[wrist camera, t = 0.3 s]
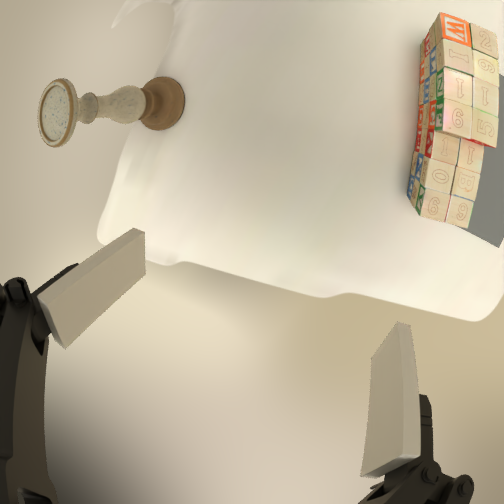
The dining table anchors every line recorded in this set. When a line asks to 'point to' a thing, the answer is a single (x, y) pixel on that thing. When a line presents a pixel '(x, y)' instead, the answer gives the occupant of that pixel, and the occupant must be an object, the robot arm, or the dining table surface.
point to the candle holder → (107, 107)
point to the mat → (491, 187)
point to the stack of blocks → (454, 118)
